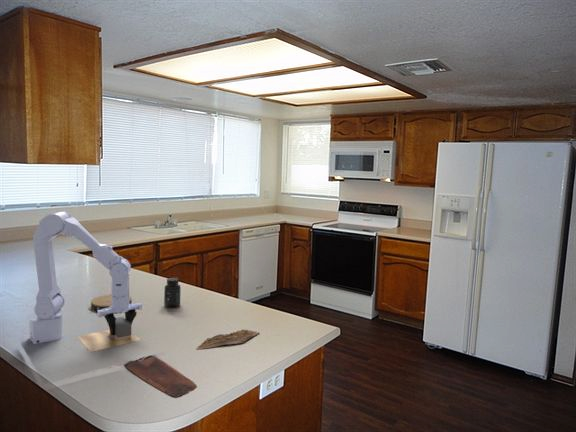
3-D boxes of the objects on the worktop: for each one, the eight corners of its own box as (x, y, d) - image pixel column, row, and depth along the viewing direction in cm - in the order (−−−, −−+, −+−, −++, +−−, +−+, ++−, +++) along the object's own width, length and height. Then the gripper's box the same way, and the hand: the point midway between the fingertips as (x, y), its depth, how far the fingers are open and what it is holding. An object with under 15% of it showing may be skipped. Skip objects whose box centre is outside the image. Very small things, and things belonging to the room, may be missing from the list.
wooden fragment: (250, 328, 162) (250, 326, 162) (266, 338, 153) (266, 335, 153) (188, 343, 146) (188, 340, 146) (201, 355, 138) (201, 352, 137)
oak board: (90, 356, 132) (90, 351, 132) (76, 340, 143) (76, 336, 143) (140, 344, 143) (140, 339, 143) (123, 330, 154) (123, 326, 154)
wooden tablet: (202, 383, 117) (171, 392, 110) (201, 391, 117) (170, 400, 110) (152, 353, 135) (122, 359, 127) (151, 360, 135) (122, 366, 127)
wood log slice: (106, 299, 189) (106, 292, 189) (138, 303, 186) (138, 296, 185) (82, 310, 174) (82, 303, 173) (117, 314, 170) (117, 307, 170)
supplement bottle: (160, 306, 182) (161, 279, 181) (171, 302, 188) (172, 276, 187) (172, 309, 179) (173, 282, 177) (183, 305, 185) (184, 278, 184)
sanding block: (117, 340, 141) (118, 326, 141) (109, 332, 147) (109, 319, 146) (131, 337, 144) (131, 323, 144) (122, 330, 150) (122, 316, 149)
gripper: (102, 301, 136) (102, 341, 138) (145, 294, 146) (145, 331, 147) (95, 296, 141) (95, 334, 143) (137, 289, 151) (137, 325, 153)
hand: (120, 332), depth 145 cm, fingers closed on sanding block, 4 cm apart
